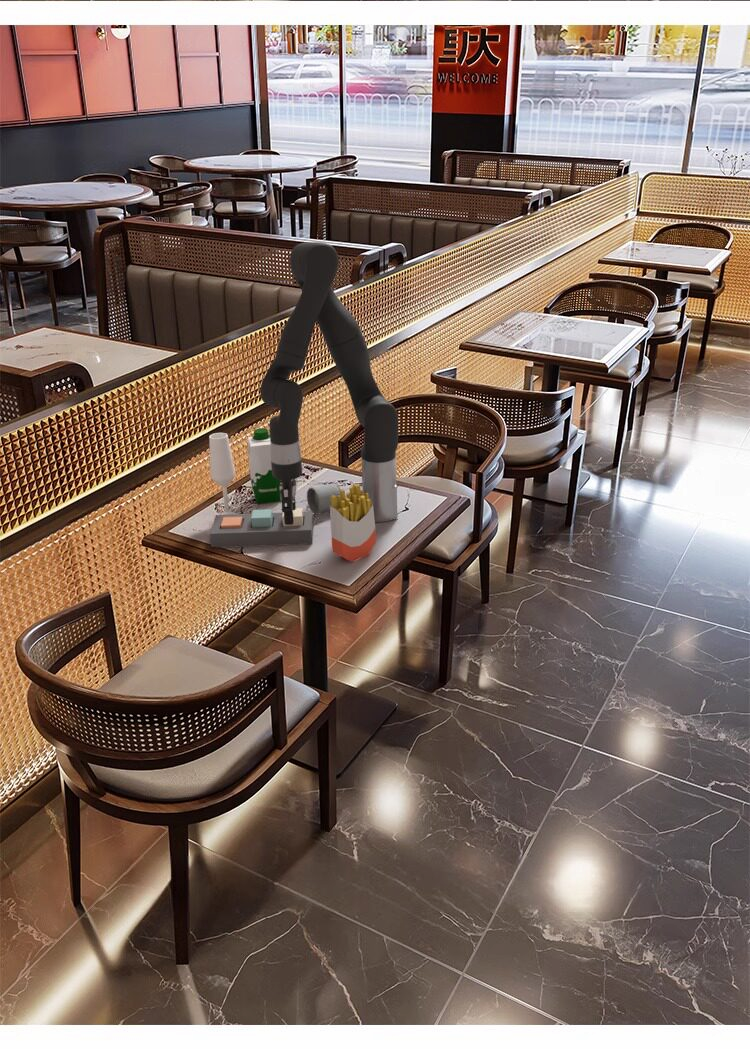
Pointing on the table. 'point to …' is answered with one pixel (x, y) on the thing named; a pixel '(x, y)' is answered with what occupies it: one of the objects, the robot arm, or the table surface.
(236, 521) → the terracotta key
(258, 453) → the milk carton
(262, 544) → the grey long flat block
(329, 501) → the ceramic mug
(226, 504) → the champagne flute
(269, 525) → the teal key
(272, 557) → the table surface
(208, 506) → the table surface
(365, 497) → the french fries container
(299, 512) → the sand key
